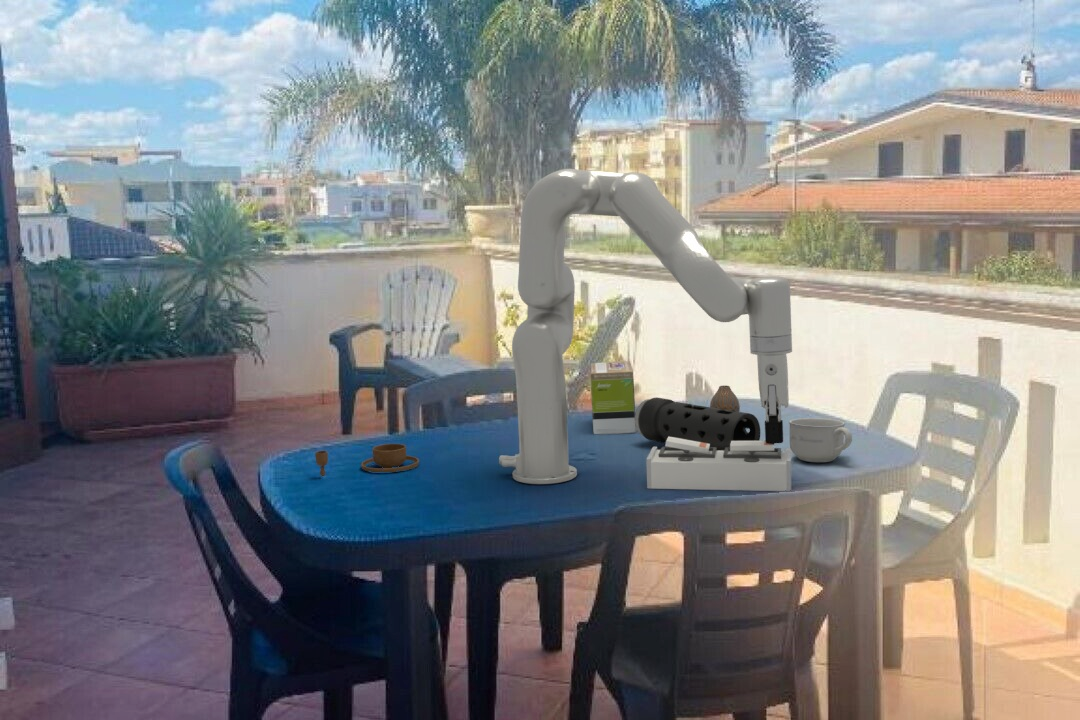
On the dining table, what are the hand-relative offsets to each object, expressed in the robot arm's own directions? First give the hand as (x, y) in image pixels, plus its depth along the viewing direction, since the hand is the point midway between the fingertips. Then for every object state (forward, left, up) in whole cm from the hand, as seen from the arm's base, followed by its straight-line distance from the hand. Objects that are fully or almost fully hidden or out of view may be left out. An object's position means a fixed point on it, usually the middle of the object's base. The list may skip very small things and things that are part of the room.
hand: (774, 442), depth 200 cm
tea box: (-38, +46, -8) cm, 60 cm away
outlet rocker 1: (-16, 0, -2) cm, 16 cm away
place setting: (-82, +5, -8) cm, 83 cm away
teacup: (+9, +16, -8) cm, 20 cm away
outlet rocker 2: (-4, 0, -2) cm, 4 cm away
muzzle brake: (-17, +23, -8) cm, 29 cm away
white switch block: (-10, -2, -7) cm, 13 cm away
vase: (-12, +52, -8) cm, 54 cm away
